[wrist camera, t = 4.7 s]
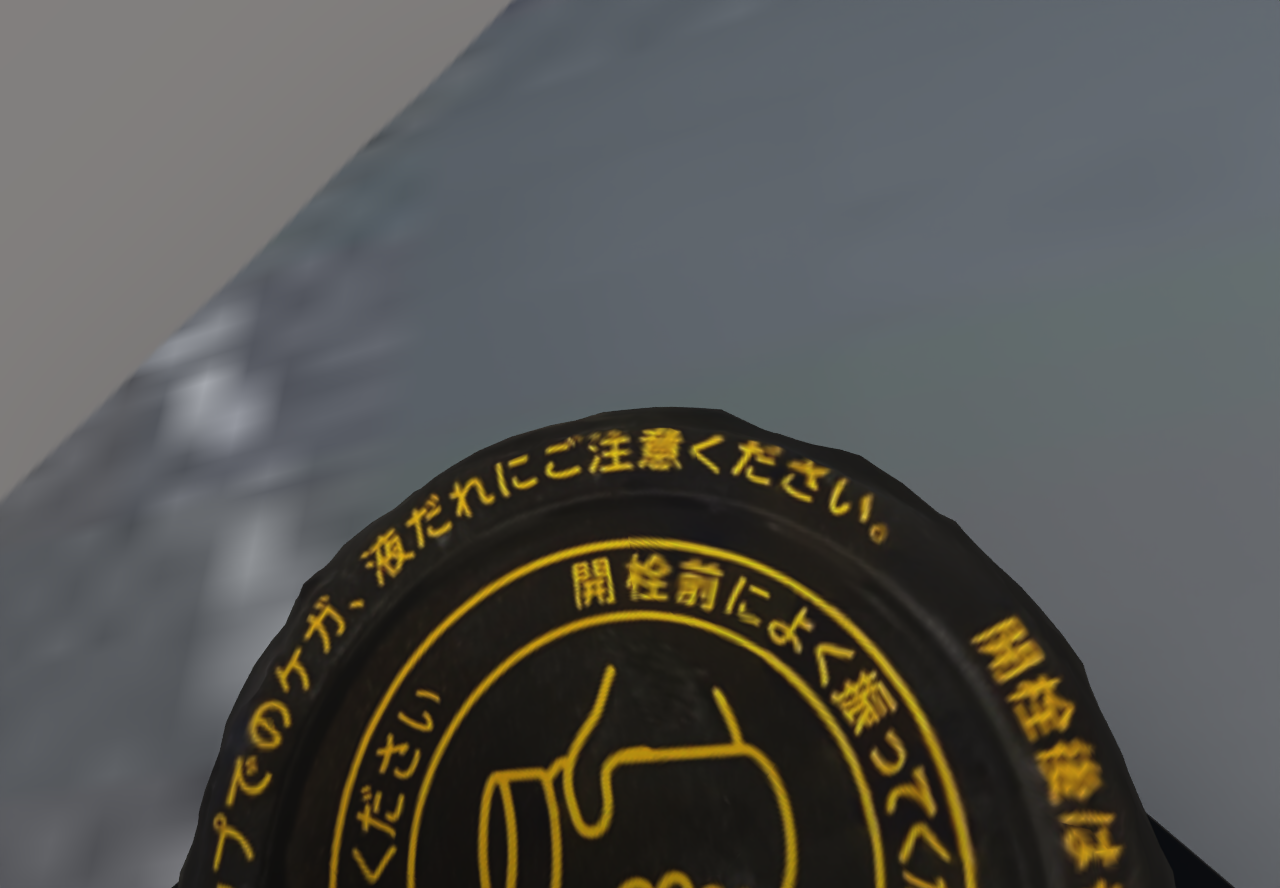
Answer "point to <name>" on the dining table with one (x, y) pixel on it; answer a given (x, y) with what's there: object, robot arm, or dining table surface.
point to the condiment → (668, 688)
